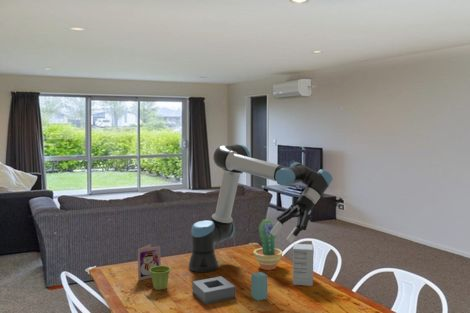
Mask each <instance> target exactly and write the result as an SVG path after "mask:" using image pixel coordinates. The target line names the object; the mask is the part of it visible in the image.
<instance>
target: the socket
mask: <svg viewBox="0 0 470 313" xmlns="http://www.w3.org/2000/svg"><path fill="white" fill-rule="evenodd" d="M192 294H193V295H194V296H196V298H197V299H198V300H200V302H202V304H204V305H208V304H213V303H219V302H223V301H227V300H233V299H236V285H235V284H233V283H231V282H230V281H229V280H228V279H227V278H225V277H223V276H216V277H210V278H204V279H199V280H194V281H192Z"/></svg>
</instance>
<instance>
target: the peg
mask: <svg viewBox="0 0 470 313" xmlns="http://www.w3.org/2000/svg"><path fill="white" fill-rule="evenodd" d="M250 283H251V284H250V286H251V287H250V294H251V295H250V296H251V298H253V300H255V301H262V300H267V299H268V274H266V273H265V272H263V271H259V272H254V273H253V272H252V273H251V274H250Z"/></svg>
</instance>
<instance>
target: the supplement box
mask: <svg viewBox="0 0 470 313" xmlns="http://www.w3.org/2000/svg"><path fill="white" fill-rule="evenodd" d="M292 285H293V286H310V287H313V285H314V244H308V243H307V244H304V243H293V247H292Z"/></svg>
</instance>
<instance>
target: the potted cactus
mask: <svg viewBox="0 0 470 313" xmlns="http://www.w3.org/2000/svg"><path fill="white" fill-rule="evenodd" d="M275 225H276V224H274V222H273V220H271V219H270V218H265V219H262V220H261V222H260V224H259V225H258V228H257V231H258V237H259V238H260V242H261V247H260V248H256V249H254V250H253V252H252V253H253V256H254V257H255V259H256V262H257V264H258V265H259V268H260V269H262V270H266V271H267V270H269V271H271V270H275V269H277V265H278V264H279V262H280V260H281V257H283V253H284V252H283V250H281V249H280V248H276V246H275V244H276V243H275V239H276V236H277V234H276V235H275V236H273V235H272V234H271V233H270V232H271V230H272V229H273V228H274V226H275Z"/></svg>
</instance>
